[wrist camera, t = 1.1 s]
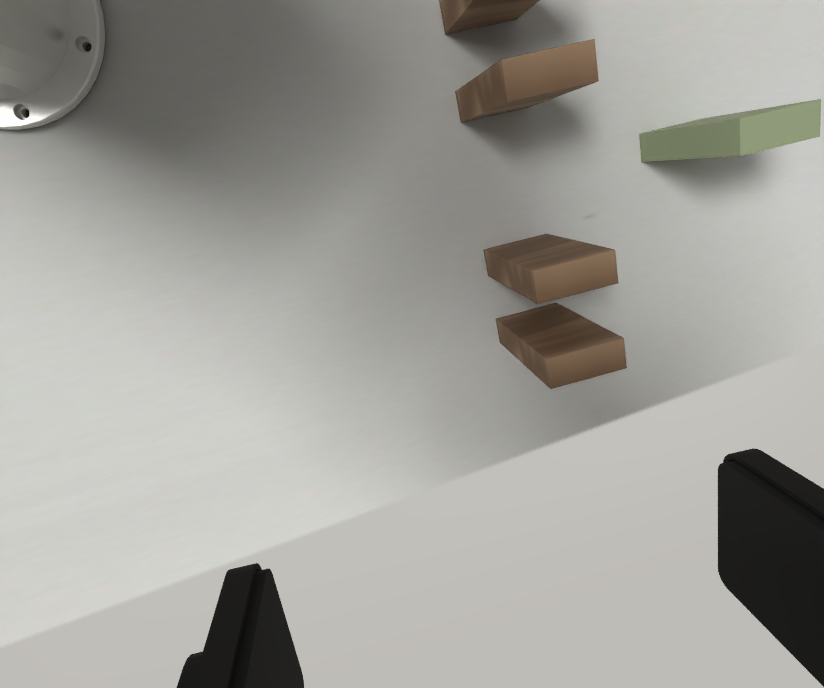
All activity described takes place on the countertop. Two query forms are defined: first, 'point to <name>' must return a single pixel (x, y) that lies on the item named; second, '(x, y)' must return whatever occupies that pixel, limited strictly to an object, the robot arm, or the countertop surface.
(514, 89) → the domino
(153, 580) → the countertop surface
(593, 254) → the domino
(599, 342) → the domino
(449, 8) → the domino
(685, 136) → the olive domino
